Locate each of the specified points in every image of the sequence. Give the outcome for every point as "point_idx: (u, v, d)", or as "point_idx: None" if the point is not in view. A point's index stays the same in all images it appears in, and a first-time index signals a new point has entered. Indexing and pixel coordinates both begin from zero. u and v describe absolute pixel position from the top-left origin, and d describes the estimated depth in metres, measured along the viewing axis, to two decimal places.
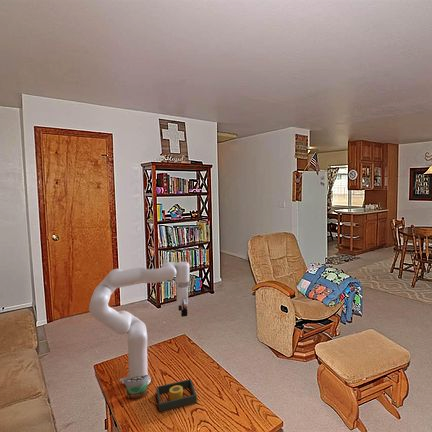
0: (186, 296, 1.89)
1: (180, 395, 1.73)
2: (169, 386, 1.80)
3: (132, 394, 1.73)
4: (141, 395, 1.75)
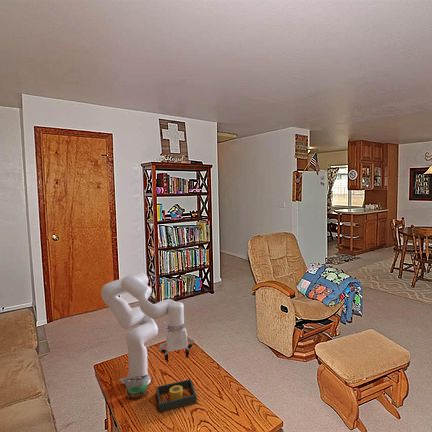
0: None
1: (180, 395, 1.73)
2: (169, 386, 1.80)
3: (132, 394, 1.73)
4: (141, 395, 1.75)
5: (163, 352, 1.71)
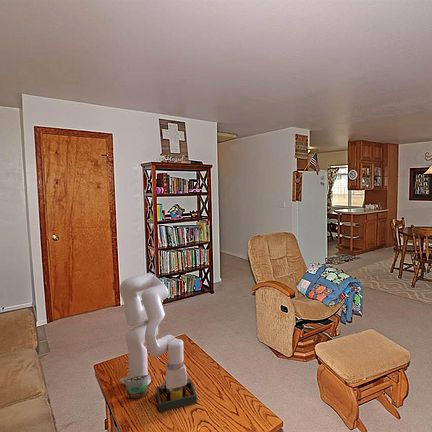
0: None
1: (180, 395, 1.73)
2: None
3: (132, 394, 1.73)
4: (141, 395, 1.75)
5: (165, 390, 1.72)
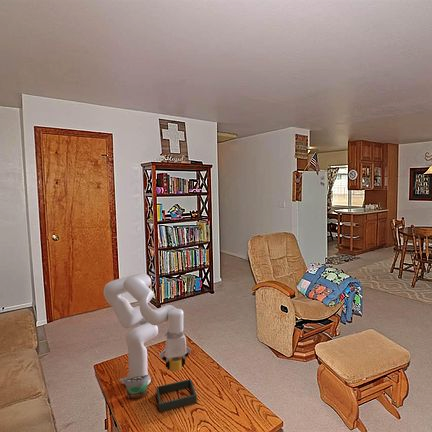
0: None
1: (179, 365, 1.73)
2: (169, 386, 1.80)
3: (132, 394, 1.73)
4: (141, 395, 1.75)
5: (164, 359, 1.71)
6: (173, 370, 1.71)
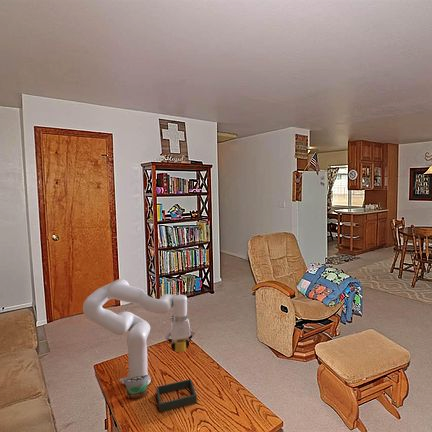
0: None
1: (184, 346, 1.88)
2: (169, 386, 1.80)
3: (132, 394, 1.73)
4: (141, 395, 1.75)
5: (170, 341, 1.86)
6: (178, 351, 1.87)
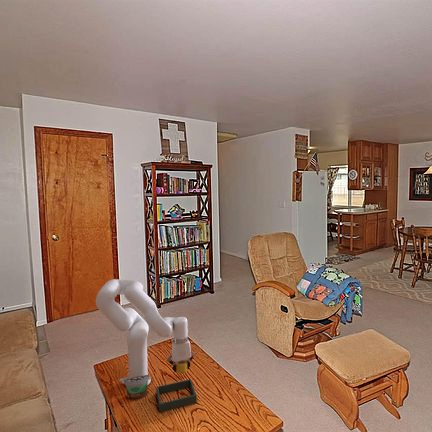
0: None
1: (185, 367, 1.91)
2: (169, 386, 1.80)
3: (132, 394, 1.73)
4: (141, 395, 1.75)
5: (171, 363, 1.90)
6: (179, 372, 1.90)
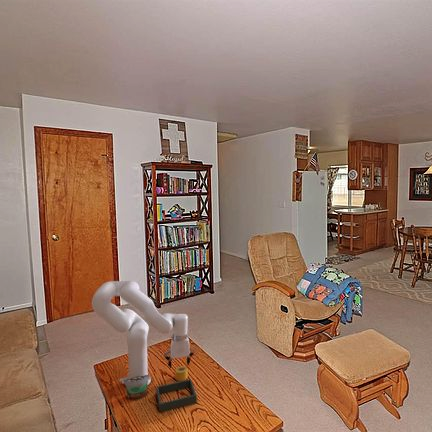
0: None
1: (185, 374, 1.92)
2: (169, 386, 1.80)
3: (132, 394, 1.73)
4: (141, 395, 1.75)
5: (167, 359, 1.89)
6: (179, 379, 1.90)
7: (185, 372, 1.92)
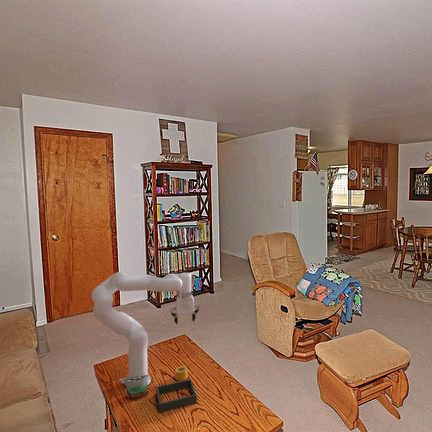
0: None
1: (185, 374, 1.92)
2: (169, 386, 1.80)
3: (132, 394, 1.73)
4: (141, 395, 1.75)
5: (173, 315, 1.97)
6: (179, 379, 1.90)
7: (185, 372, 1.92)
